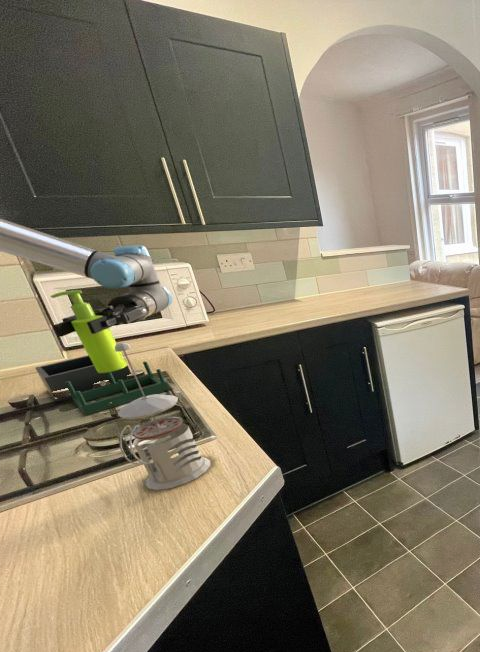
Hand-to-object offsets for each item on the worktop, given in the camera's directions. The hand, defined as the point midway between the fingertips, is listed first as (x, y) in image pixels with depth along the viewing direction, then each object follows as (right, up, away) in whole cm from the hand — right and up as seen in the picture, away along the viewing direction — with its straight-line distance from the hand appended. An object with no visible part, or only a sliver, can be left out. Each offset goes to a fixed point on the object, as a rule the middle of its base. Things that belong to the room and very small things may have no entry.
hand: (74, 329), depth 97 cm
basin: (-16, -13, +20) cm, 29 cm away
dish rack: (0, -16, +13) cm, 20 cm away
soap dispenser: (-1, -9, +9) cm, 13 cm away
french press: (+41, -30, -22) cm, 55 cm away
